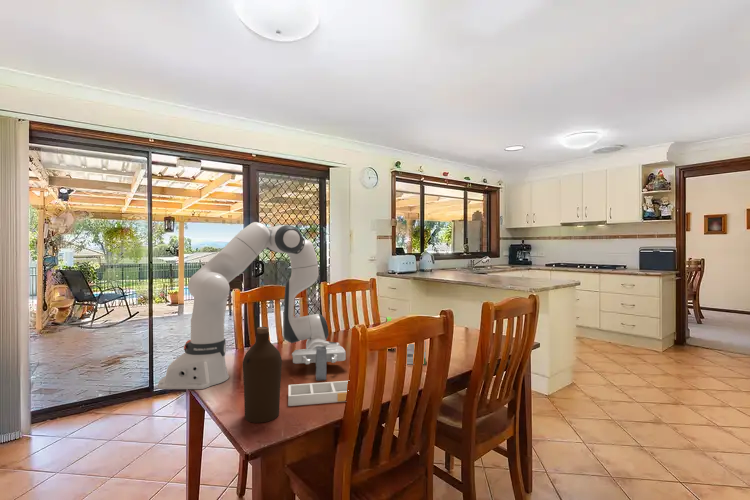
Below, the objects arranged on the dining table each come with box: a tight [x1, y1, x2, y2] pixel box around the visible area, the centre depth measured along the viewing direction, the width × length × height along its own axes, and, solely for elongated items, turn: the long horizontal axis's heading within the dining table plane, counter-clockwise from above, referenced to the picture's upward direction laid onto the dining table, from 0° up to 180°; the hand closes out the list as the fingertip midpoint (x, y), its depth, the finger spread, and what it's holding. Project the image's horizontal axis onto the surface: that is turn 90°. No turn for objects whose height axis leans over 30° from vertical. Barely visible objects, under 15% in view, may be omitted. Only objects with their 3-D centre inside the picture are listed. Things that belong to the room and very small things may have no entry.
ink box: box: [406, 340, 427, 365], centre depth 158 cm, size 8×5×12 cm, turn 88°
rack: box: [287, 380, 349, 407], centre depth 120 cm, size 21×10×3 cm, turn 103°
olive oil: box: [242, 326, 283, 424], centre depth 107 cm, size 11×11×25 cm
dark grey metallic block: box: [315, 346, 327, 381], centre depth 138 cm, size 4×5×11 cm
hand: (320, 361), depth 139 cm, fingers open, 8 cm apart
